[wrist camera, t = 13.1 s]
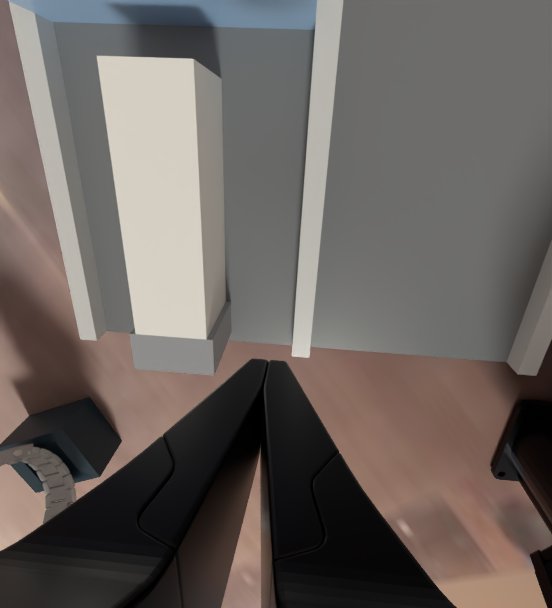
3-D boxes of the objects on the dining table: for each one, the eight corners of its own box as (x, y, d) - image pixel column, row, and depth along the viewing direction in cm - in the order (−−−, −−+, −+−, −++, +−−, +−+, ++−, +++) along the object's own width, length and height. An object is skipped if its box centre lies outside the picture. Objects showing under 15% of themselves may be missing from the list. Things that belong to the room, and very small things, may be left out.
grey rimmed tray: (519, 358, 21) (563, 403, 18) (95, 325, 23) (55, 361, 19) (658, -3, 14) (778, -52, 11) (31, -18, 16) (-52, -66, 12)
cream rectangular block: (231, 331, 22) (214, 375, 18) (166, 327, 22) (134, 369, 18) (228, 79, 16) (201, 58, 12) (141, 76, 16) (88, 55, 12)
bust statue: (77, 474, 29) (-45, 651, 19) (13, 397, 26) (-171, 558, 16) (136, 459, 28) (38, 641, 18) (76, 377, 25) (-82, 537, 15)
